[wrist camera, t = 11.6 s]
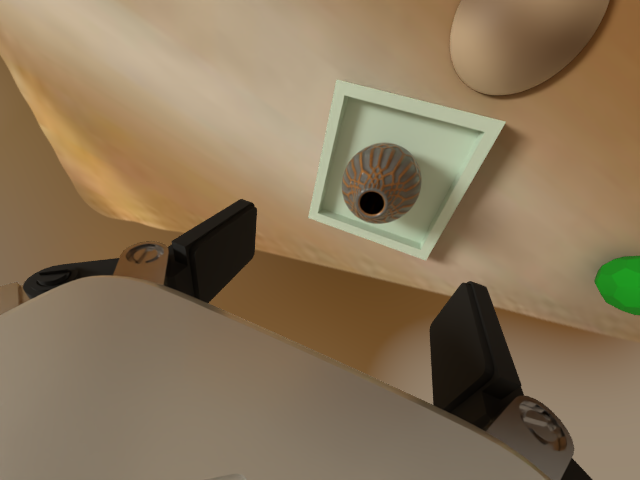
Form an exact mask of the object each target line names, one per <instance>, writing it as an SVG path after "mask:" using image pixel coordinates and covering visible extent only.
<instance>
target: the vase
mask: <svg viewBox="0 0 640 480" xmlns="http://www.w3.org/2000/svg"><path fill="white" fill-rule="evenodd" d="M421 183H422V178H421V171H420V167H419V165H418V163H417V161H416V159H415V158H414V156H413V155H412V154H411V153H410V152H409V151H408V150H406V149H405V148H403V147H402V146H399V145H397V144H393V143H376V144H373V145H370V146H367V147H365V148H364V149H362V150H361V151H359V152H358V153H357V154H356V155H355V156H354V157H353V158H352V159H351V160H350V161H349V163H348V165H347V166H346V169H345V171H344V174H343V178H342V194H343V198H344V201H345V203H346V205H347V207H348V208H349V210H350V211H351V212H352V213H353V214H354V215H355V216H356V217H358V218H359V219H361V220H363V221H365V222H368V223H373V224H384V223H389V222H392V221H395V220H397V219H399V218H400V217H402V216H403V215H405V214H406V213H407V212H408V211H409V210H410V209H411V208H412V207H413V205H414V204H415V202H416V201H417V199H418V196H419V194H420V190H421Z"/></svg>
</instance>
